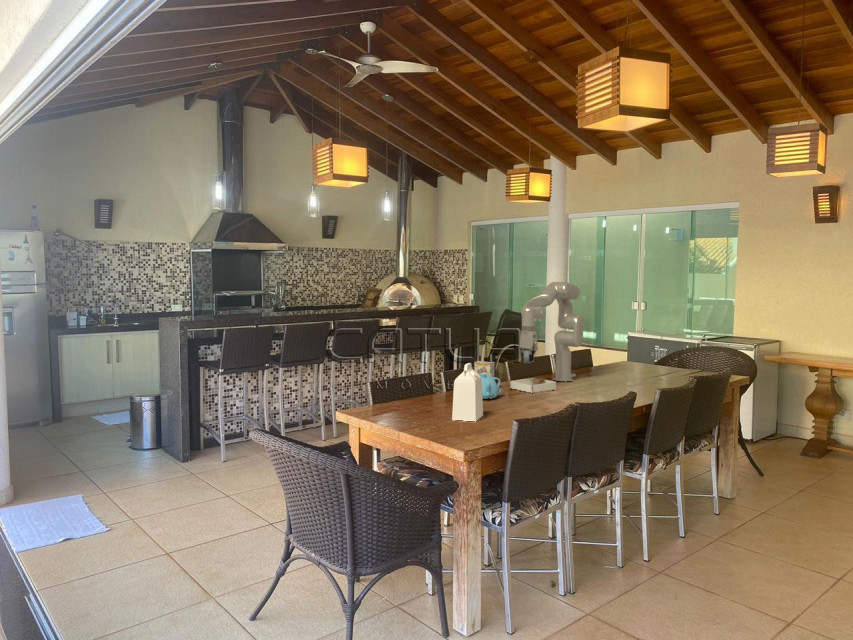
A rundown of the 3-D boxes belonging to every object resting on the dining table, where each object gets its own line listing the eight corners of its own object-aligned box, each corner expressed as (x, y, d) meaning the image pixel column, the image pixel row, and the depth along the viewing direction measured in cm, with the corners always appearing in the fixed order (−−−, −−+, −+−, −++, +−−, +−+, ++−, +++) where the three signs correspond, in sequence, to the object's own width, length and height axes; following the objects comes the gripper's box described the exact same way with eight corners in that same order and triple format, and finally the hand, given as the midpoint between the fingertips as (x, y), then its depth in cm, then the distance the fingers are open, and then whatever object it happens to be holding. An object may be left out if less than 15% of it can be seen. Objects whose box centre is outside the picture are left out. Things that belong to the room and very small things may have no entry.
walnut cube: (538, 386, 382) (538, 378, 382) (544, 387, 378) (544, 379, 378) (532, 387, 379) (532, 378, 379) (538, 388, 375) (538, 380, 375)
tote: (534, 385, 389) (534, 377, 389) (556, 390, 375) (556, 381, 374) (509, 389, 378) (510, 381, 377) (531, 394, 363) (532, 385, 363)
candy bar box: (473, 389, 377) (473, 361, 376) (477, 388, 382) (477, 360, 380) (490, 391, 372) (491, 363, 370) (494, 390, 376) (494, 362, 374)
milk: (460, 414, 313) (460, 361, 311) (483, 416, 309) (483, 362, 307) (452, 420, 302) (452, 365, 300) (475, 422, 298) (475, 366, 296)
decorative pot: (486, 402, 341) (486, 377, 340) (462, 398, 352) (462, 373, 351) (503, 398, 354) (504, 373, 352) (480, 394, 364) (480, 370, 363)
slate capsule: (527, 361, 376) (528, 349, 375) (534, 362, 372) (534, 350, 371) (521, 362, 373) (521, 350, 372) (527, 363, 369) (527, 351, 368)
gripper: (543, 329, 366) (543, 361, 367) (522, 327, 380) (522, 358, 381) (534, 330, 362) (533, 362, 363) (513, 328, 375) (512, 359, 377)
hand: (527, 360), depth 372 cm, fingers closed on slate capsule, 4 cm apart
